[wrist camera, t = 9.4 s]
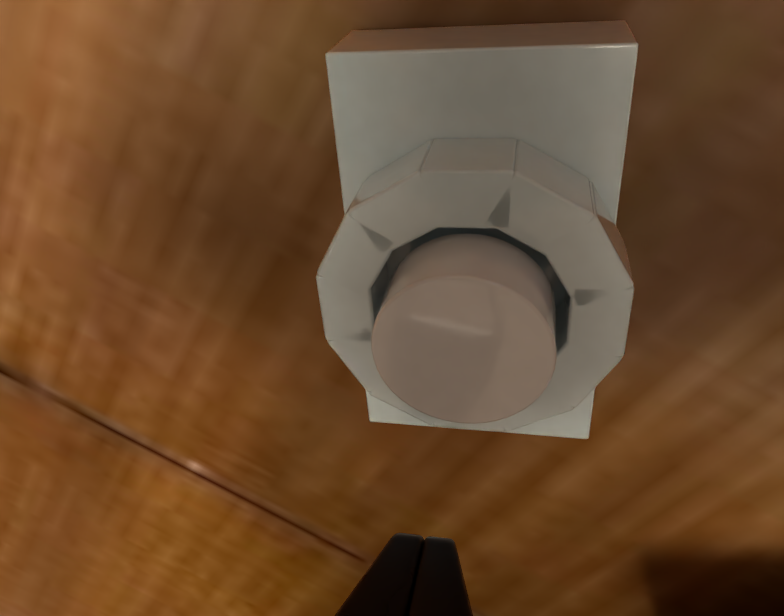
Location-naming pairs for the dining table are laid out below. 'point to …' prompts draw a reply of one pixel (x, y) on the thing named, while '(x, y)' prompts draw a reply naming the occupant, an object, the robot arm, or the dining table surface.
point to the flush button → (466, 329)
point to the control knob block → (485, 187)
